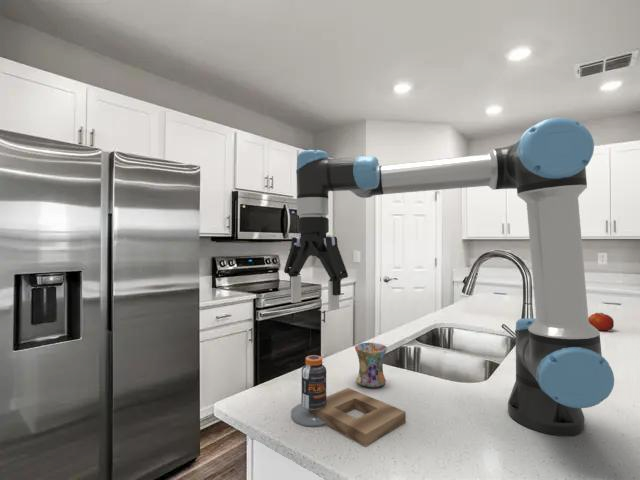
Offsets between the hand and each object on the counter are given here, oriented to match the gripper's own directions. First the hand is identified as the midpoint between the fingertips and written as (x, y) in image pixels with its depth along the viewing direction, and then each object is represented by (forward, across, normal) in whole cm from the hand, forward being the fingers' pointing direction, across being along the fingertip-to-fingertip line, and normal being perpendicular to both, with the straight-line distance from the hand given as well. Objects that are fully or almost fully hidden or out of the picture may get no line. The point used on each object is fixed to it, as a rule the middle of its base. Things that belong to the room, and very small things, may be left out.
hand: (313, 305), depth 86 cm
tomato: (+27, -30, -147) cm, 152 cm away
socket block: (+26, -8, -6) cm, 28 cm away
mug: (+26, +4, -25) cm, 37 cm away
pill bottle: (+24, 0, 0) cm, 24 cm away
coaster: (+26, 0, 0) cm, 26 cm away
